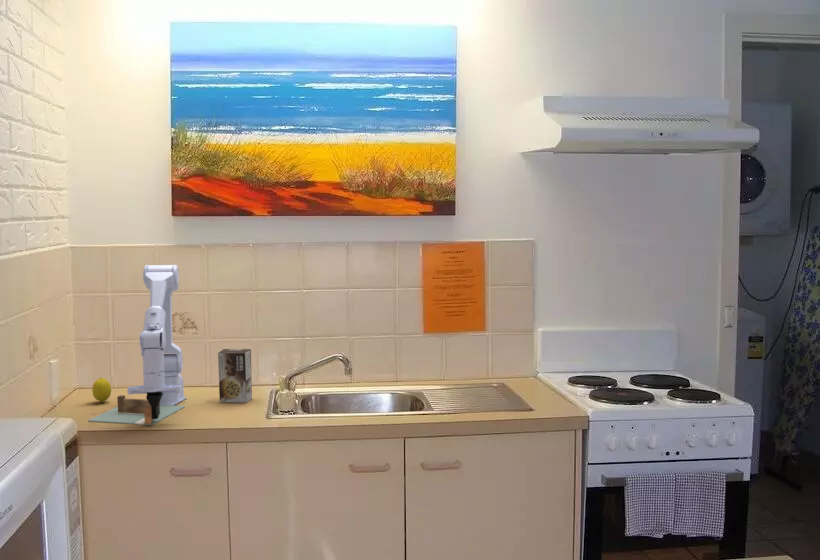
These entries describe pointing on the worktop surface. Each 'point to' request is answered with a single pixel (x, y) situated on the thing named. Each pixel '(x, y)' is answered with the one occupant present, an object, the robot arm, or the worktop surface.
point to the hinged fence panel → (148, 415)
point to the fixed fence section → (132, 405)
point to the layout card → (134, 416)
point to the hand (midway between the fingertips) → (155, 418)
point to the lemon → (101, 390)
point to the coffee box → (235, 375)
